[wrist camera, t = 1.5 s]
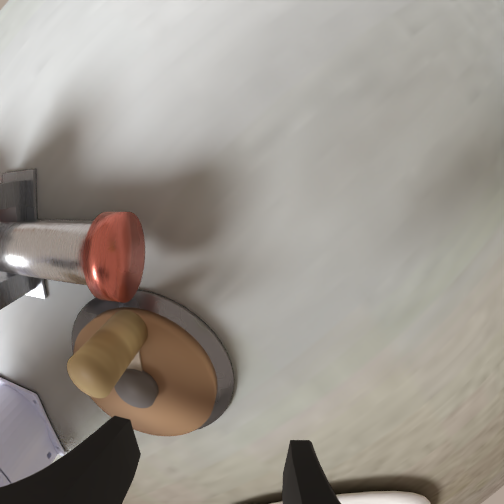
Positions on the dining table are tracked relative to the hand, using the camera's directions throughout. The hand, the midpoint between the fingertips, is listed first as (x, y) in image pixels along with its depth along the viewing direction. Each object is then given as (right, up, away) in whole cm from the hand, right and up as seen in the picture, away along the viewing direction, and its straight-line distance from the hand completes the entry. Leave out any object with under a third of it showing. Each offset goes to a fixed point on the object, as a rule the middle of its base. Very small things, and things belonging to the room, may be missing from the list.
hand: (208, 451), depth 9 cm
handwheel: (-6, -1, +10) cm, 12 cm away
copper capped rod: (-11, +7, +7) cm, 15 cm away
